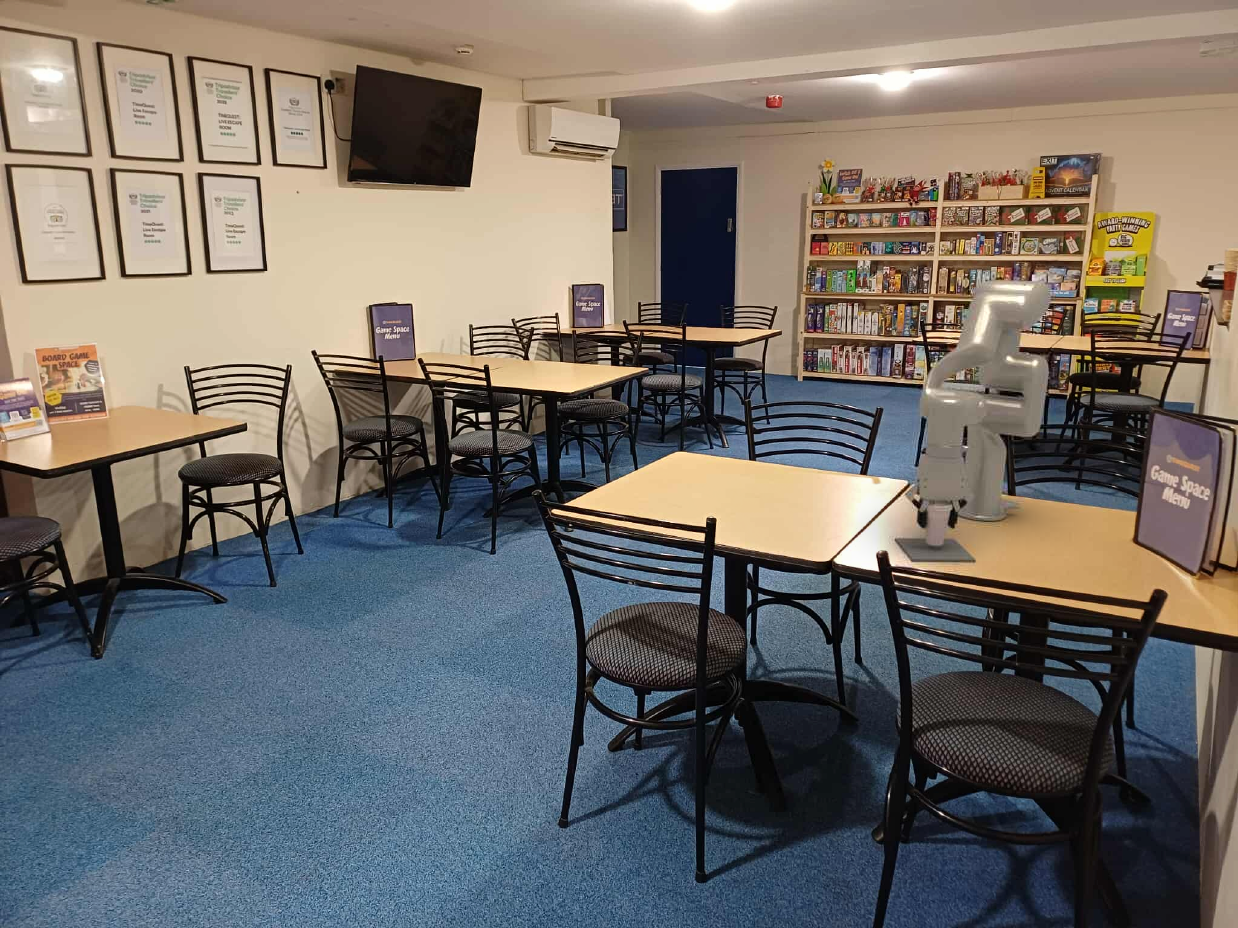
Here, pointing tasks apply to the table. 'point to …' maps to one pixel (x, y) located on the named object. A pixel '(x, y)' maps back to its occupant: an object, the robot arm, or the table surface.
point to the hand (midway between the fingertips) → (936, 526)
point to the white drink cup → (937, 521)
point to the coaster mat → (934, 551)
